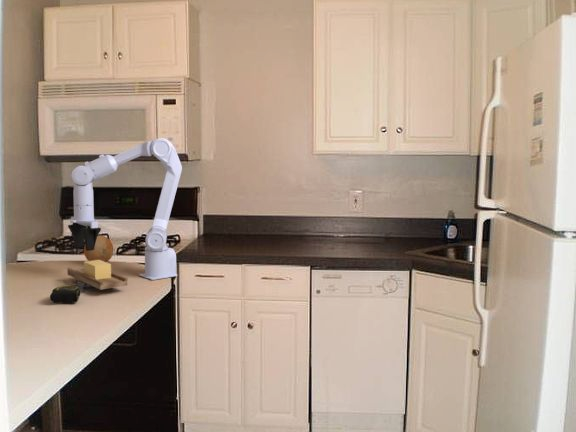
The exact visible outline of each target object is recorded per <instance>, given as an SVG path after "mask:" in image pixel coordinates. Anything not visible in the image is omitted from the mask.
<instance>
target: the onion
mask: <svg viewBox="0 0 576 432" xmlns="http://www.w3.org/2000/svg"><path fill="white" fill-rule="evenodd" d="M112 243H113V242H111V240H110V238H108V237H106V236H104V235H98V236H97V239H96V243H95V247H94V250H91V251H87V250H86V247H85V245H83V255H84V256H85V258H86V260H87V261H93V260H101V261H104V262H107V263H108V261H109V262H110V260H111V259H112V257H113V255H114V245H113V244H112Z"/></svg>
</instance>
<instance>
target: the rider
mask: <svg viewBox="0 0 576 432" xmlns="http://www.w3.org/2000/svg"><path fill="white" fill-rule="evenodd" d="M83 269H84V274H86V275H88V276H90V277H92V278H95V279H97V280H98V279H105V278H111V272H112V263H109V262H108V261H107V262H104V261H101V260H93V261H88V260H87V261H86V260H85V261H83Z"/></svg>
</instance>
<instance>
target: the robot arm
mask: <svg viewBox="0 0 576 432" xmlns="http://www.w3.org/2000/svg"><path fill="white" fill-rule="evenodd" d="M141 156H143V157H152V156H154V157H156V159H158V160H159V161H160V162H161V164H162V165H163V166H164V168H165V170H166V171H165V172H166V173H165V177H164V180H163V185H162V187H161V192H160V195H159V199H158V202H157V203H158V204H157V206H156V211H155V215H154V218H153V222H152V226H151V227H150V228H149V230H148V231H147V234H146V236H145V244H146V246H145V247H144V273H139V277H140V276H141V277H143V278H146V279H148V280H150V281H155V280H156V281H157V280H162V279H167V278H173V277H178V274H177V253H176V251H175V249H174V248H173V247H169V246H168V245H167V244H166V243H167V238H168V233H167V228H168V224H169V220H170V216H171V212H172V208H173V206H174V201H175V196H176V193H177V189H178V185H179V183H180V180H181V179H180V178H181V176H182V171H183V167H182V163H181V160H180V158H179V154H178V153H177V150H176V147H175V146H174V145H173V143H172V142H171V141H170V140H168V139H167V138H165V137H158V138H156V139H154V140H148V141H145V142H142V143H139V144H137V145H135V146H133V147H131V148H128V149H127V150H125V151H122V152H121V153H118V154H115V155H114V156H113V155H110V154H103V153H102V154H100V155H99V156H98V157H97V158H96V159H94V160H92V161H85V162H84V165H78V166H77V167H75V168H74V169H73V170H72V172H71V179H72V181H73V193H72V194H73V216H70V223H71V224H67V228H68V229H69V231H70V233H71V235H72V238H73V243H74V245H75V248H81V247H84V246H85V247H86V250H87V251H91V250H94V247H95V243H96V239H97V236H99V234H100V232H101V231H102V228H101V227H99V221H96V219H95V213H94V212H95V210H94V209H95V208H94V207H95V206H94V205H95V203H94V189H93V183H94V182H93V181H94V180H99V179H102V178H105V177H107V176H108V175H111V174H113V173H115V172H117V169H118V166H120V165H123V164H125V163H127V162H129V161H132V160H134V159H137V158H139V157H141Z"/></svg>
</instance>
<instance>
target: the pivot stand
mask: <svg viewBox="0 0 576 432" xmlns="http://www.w3.org/2000/svg"><path fill="white" fill-rule="evenodd" d="M70 286H76V287H78V288H79V290H80V292H81V293H88V292H94V291H100V289H98V288H96V287H94V286H87V283H85V282H83V281H79V280H76V283H75V284H74V283H73V284H70Z"/></svg>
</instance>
